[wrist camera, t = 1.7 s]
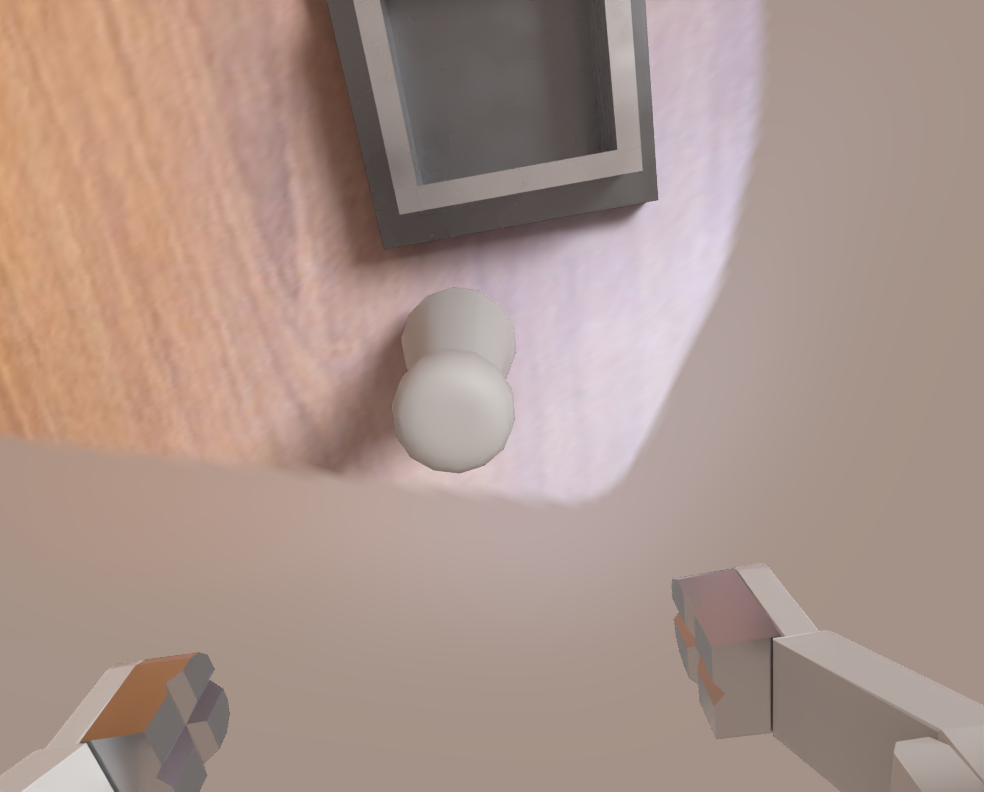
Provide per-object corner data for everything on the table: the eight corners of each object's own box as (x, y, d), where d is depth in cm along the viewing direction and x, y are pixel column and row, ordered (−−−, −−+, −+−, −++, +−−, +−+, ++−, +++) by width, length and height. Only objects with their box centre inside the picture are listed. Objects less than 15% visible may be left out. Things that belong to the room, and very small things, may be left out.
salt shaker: (490, 397, 32) (501, 523, 20) (394, 364, 31) (344, 475, 19) (528, 302, 30) (566, 375, 18) (427, 264, 30) (395, 314, 17)
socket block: (388, 246, 29) (373, 255, 25) (316, -71, 24) (283, -126, 20) (648, 199, 29) (679, 201, 25) (625, -132, 24) (658, -201, 20)
